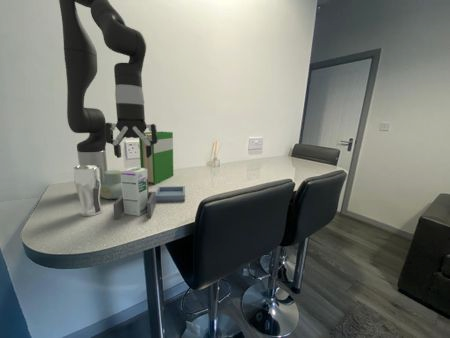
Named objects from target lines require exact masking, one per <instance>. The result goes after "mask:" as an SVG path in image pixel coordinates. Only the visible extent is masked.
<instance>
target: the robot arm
mask: <svg viewBox="0 0 450 338" xmlns="http://www.w3.org/2000/svg"><path fill="white" fill-rule="evenodd" d="M58 3H59V7H60V9H59V10H60V15H61V22H62V23H61V24H62V37H63V40H62V41H63V53H64V54H63V55H64V63H65V73H66V74H65V75H66V88H67V92H66V93H67V94H66V96H67V98H66V99H67V100H66V117H67V124H68V126H69V128H70V130H71V131H72V132H73V133H75V134H89V135H88V136H87V138H86V139H85V140H83V141H80V142H78V143H77V144H76V151H77V157H78V158H77V159H78V166H82V165H98V166H99V169H100V174H101V184H103V183H104V172H106V171H109V170H108V162H107V161H108V160H107V151H106V145H107V144H110V145H112V146H113V153H114V156H115V157H116V158H118V159H119V158H121V157H122V149H121V148H122V147H121V144H120V143H122V141H123V140H124V139H125V138H126V139H131V138H133V139H139V137H140V138H141V139H142V140H143V141H144V142H145V143H146V145H147V146H146V157H147V158H149V157H150V156H151V155H152V145H153V144H156V143H157V142H158V140H157V132H158V131H157V125H156V124H155V123H152V124H147V123H146V120H145V119H146V116H145V115H146V114H145V99H144V92H143V81H142V80H143V79H142V72H143V67H144V61H145V57H146V52H147V41H146V39H145V36H144V35H143V33H142V32H141V31H139V30H137V29H135V28H132V27H129V26H127V25H126V22H125V20H124V18H123V17H122V15H120V13H119V12H118V11H117V10H116V9H115V8H114V7H113V6H112V4H111V3H110V2H109V0H58ZM76 4H78V5H80V6H82V7H85V8H89V9H90V14H91V18H92V20H93V21H94V23H95V24H96V26H97V27H98V28H99V30H100V31H101V34H102V37H103V41H104V44H105V46H106V47H107V48H108V49H109V50H110V51H112V52H114V53H118V54H121V55H124V56H127V57H129V60H128V62H117V63H116V64H115V65H114V69H113V70H114V71H113V72H114V82H115V83H114V84H115V93H114V94H115V97H114V98H115V107H116V119H117V121H116V123H113V122H106V118H105V114H104V113H103V111H102V110H101V109H98V108H94V107H93V108H92V107H85V104H84V103H85V96H86V93H87V90H88V88H89V87H90V85H91V83H93V81H94V79H95V78H96V75H97V73H98V57H97V55H98V54H97V50H96V47H95V45H94V43H93V41H92V40H91V39H92V38H91V37H90V36H89V34H88V32H87V30H86V29H85V27H84V26H83V24H82V21H81V19H80V17H79V14H78V10H77V6H76ZM116 128H117V130H118V131H119V133H118V134H117V136H116V137H115V139H114V131H115V130H116ZM147 129H148V132H151V133H152V141H150V140H149V139H148V137H147V136H146V134H145V133H144V132H146V130H147Z"/></svg>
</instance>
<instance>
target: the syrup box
mask: <svg viewBox="0 0 450 338" xmlns="http://www.w3.org/2000/svg"><path fill="white" fill-rule="evenodd" d="M120 171H121V183H122V193H123V203H124V212H123V213H124V214H125V215H128V216H129V215H130V216H137V217H141V216H142V215H143V214H144V213H147V202H148V200H149V192H150V190H149V182H148V174H147V169H146V168H141V166H140V167H139V166H138V167H133V166H132V167H129V168H127V169H124V170H120Z"/></svg>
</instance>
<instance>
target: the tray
mask: <svg viewBox="0 0 450 338" xmlns="http://www.w3.org/2000/svg"><path fill="white" fill-rule="evenodd" d="M155 193H156V203H173V202H176V203H177V202H185V201H186V199H185V198H186V186H184V185H183V186H181V185H180V186H177V185H176V186H158V187H157V189H156V191H155Z"/></svg>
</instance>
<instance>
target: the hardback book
mask: <svg viewBox="0 0 450 338" xmlns="http://www.w3.org/2000/svg"><path fill="white" fill-rule="evenodd" d="M144 133H145V134H146V136H147V137H148V139H149V140H150V141H152V133H151V131H144ZM173 134H174V133H173V131H157V140H158V142H157V143H156V144H153V145H152V155H151V156H150V157H149V158H147V157H146V146H147V145H146V143H145V142H144V141H143V140H142V139H141V138H140V137H139V138H138V140H139V143H138V144H139V158H140V159H139V160H140V168H146V169H147V174H148V183H153V185H157V184H160V183H162V182H164V181H166V180H168V179H170V178H171V177H173V176H174V136H173Z"/></svg>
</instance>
